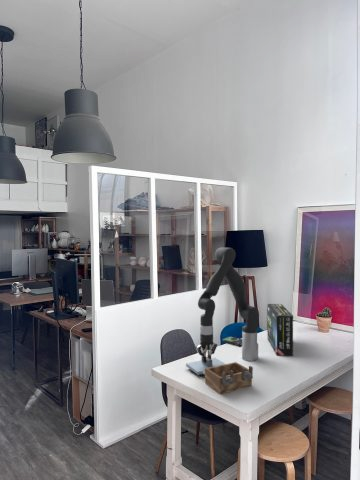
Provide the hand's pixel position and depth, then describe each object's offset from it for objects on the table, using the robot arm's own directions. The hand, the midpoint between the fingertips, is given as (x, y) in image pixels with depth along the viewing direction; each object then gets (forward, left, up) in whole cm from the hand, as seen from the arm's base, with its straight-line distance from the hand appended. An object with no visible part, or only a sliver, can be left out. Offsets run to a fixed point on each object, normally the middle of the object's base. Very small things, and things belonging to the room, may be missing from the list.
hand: (206, 361), depth 209 cm
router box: (-66, -11, -5) cm, 67 cm away
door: (0, 0, -3) cm, 3 cm away
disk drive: (-44, -33, -6) cm, 55 cm away
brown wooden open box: (0, +23, -5) cm, 24 cm away
